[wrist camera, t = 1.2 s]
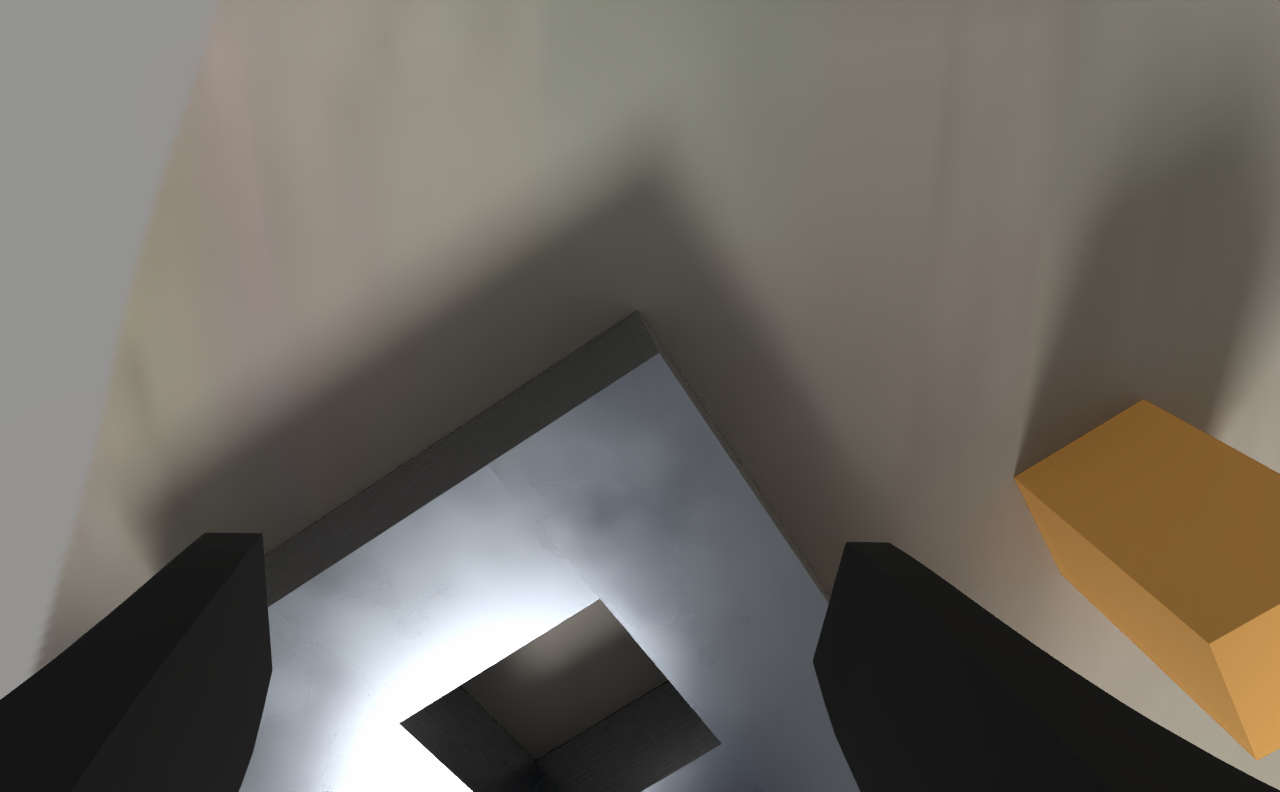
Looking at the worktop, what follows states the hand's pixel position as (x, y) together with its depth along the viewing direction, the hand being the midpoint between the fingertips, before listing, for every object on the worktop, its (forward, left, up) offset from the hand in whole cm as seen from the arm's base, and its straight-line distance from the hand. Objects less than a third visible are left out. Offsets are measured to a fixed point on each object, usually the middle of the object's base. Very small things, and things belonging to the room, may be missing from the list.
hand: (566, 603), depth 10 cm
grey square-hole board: (-8, +5, -10) cm, 13 cm away
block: (-13, -10, -10) cm, 19 cm away
